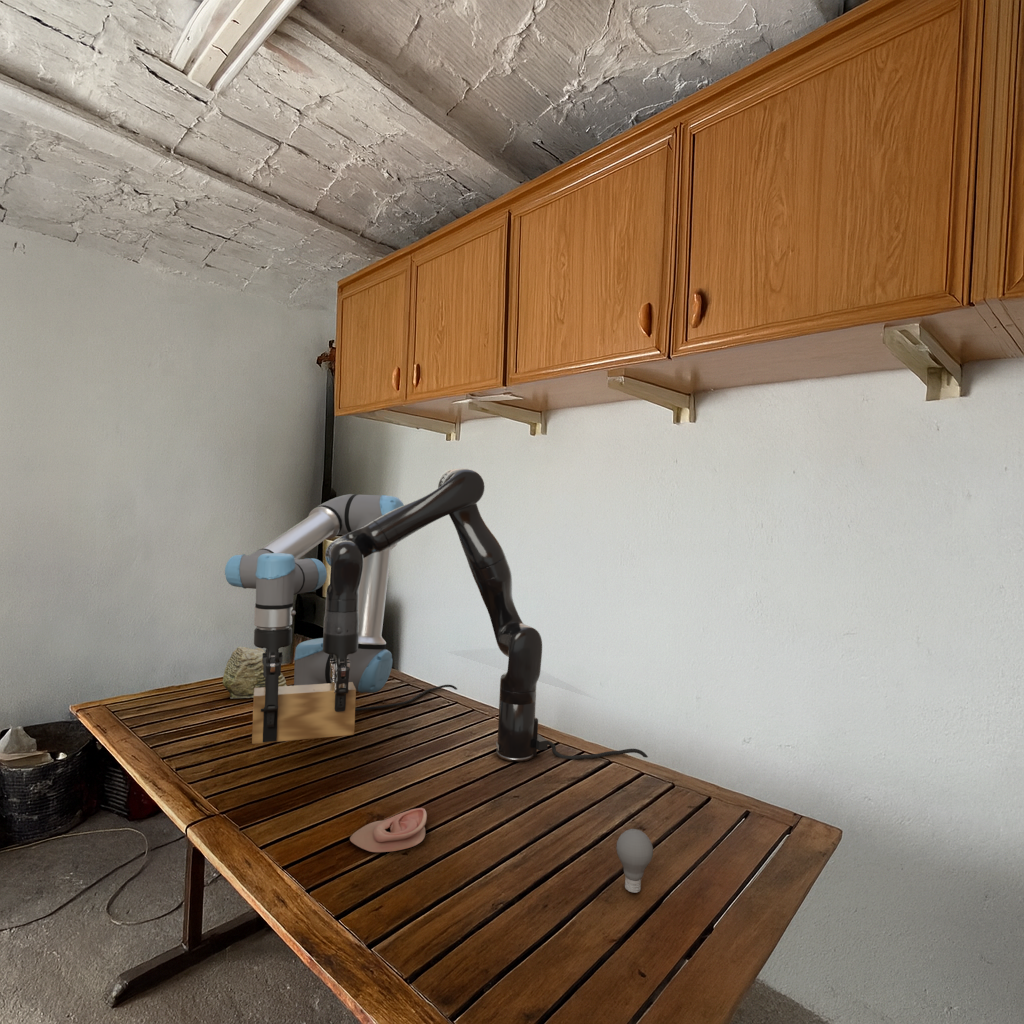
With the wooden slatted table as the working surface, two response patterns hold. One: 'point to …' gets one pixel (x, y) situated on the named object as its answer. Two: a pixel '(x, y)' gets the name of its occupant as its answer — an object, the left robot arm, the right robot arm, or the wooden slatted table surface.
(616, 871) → the wooden slatted table surface
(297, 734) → the box
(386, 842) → the anatomical model
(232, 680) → the fossil
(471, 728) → the wooden slatted table surface
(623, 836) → the light bulb
